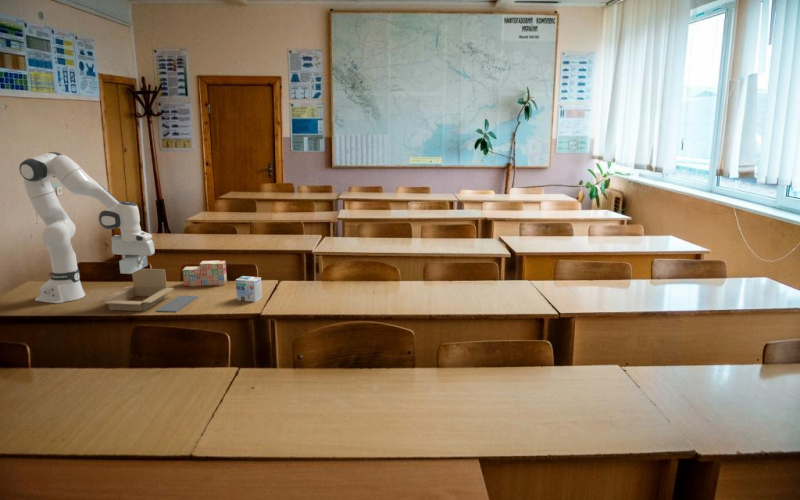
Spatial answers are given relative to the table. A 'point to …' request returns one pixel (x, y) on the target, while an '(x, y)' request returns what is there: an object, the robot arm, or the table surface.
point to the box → (132, 264)
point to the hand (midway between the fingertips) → (134, 263)
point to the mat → (177, 304)
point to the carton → (140, 291)
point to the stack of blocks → (206, 274)
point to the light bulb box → (249, 288)
